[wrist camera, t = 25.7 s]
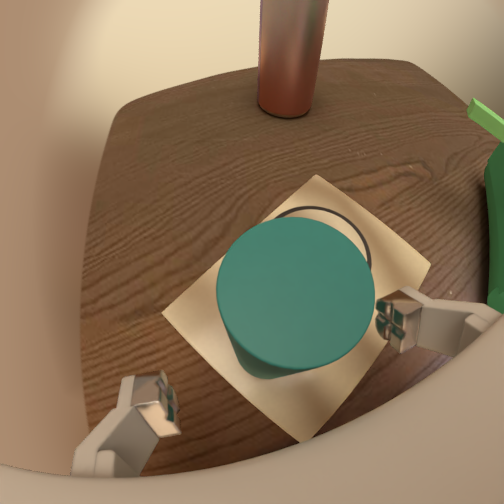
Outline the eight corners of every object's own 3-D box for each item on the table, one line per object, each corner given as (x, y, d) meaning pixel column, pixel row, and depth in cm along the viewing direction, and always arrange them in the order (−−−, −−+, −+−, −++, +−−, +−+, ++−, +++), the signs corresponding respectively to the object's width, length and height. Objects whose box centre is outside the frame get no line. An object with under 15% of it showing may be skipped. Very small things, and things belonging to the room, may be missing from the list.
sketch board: (302, 444, 13) (304, 446, 13) (163, 315, 17) (159, 311, 16) (427, 267, 19) (432, 262, 18) (314, 178, 23) (316, 171, 22)
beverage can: (250, 95, 29) (252, -24, 15) (296, 90, 29) (310, -20, 16) (268, 123, 26) (277, -18, 13) (319, 117, 27) (344, -10, 14)
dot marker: (268, 391, 15) (308, 405, 5) (223, 350, 16) (181, 287, 6) (309, 347, 16) (400, 279, 6) (264, 309, 17) (288, 191, 7)
